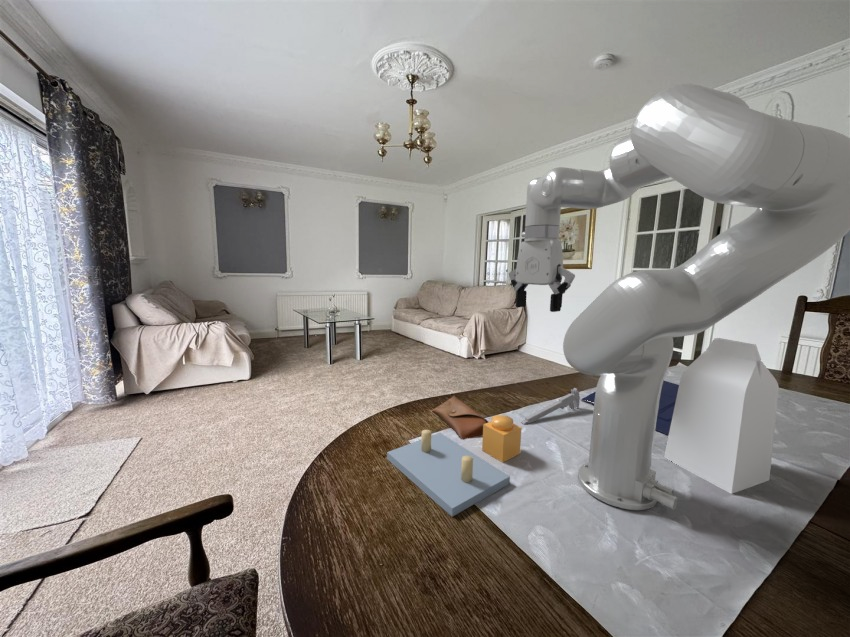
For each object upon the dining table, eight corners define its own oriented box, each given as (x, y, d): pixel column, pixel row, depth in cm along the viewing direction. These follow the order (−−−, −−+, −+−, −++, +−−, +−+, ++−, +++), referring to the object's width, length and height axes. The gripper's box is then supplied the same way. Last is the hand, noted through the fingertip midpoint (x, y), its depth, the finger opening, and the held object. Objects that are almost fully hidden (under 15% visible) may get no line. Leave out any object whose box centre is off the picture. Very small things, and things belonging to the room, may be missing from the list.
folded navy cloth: (727, 407, 95) (729, 395, 94) (668, 446, 81) (669, 432, 80) (638, 380, 116) (638, 370, 115) (579, 407, 102) (579, 396, 101)
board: (509, 483, 63) (511, 456, 62) (452, 516, 54) (452, 485, 53) (439, 438, 78) (440, 416, 77) (387, 459, 70) (387, 433, 69)
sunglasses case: (428, 409, 93) (439, 387, 94) (447, 418, 97) (458, 397, 97) (462, 440, 77) (475, 414, 78) (483, 449, 80) (496, 424, 81)
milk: (663, 457, 72) (680, 336, 67) (699, 448, 76) (717, 333, 71) (731, 493, 61) (756, 351, 56) (769, 480, 65) (794, 346, 60)
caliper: (575, 408, 97) (577, 386, 96) (578, 409, 96) (580, 387, 95) (521, 424, 87) (522, 400, 86) (524, 425, 86) (525, 401, 85)
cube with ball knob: (519, 453, 72) (521, 421, 71) (502, 462, 69) (504, 428, 68) (499, 442, 77) (501, 411, 76) (482, 450, 74) (483, 418, 72)
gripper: (501, 236, 83) (498, 306, 86) (566, 231, 69) (560, 314, 72) (521, 238, 88) (518, 304, 90) (586, 233, 74) (580, 312, 76)
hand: (537, 309), depth 81 cm, fingers open, 9 cm apart
